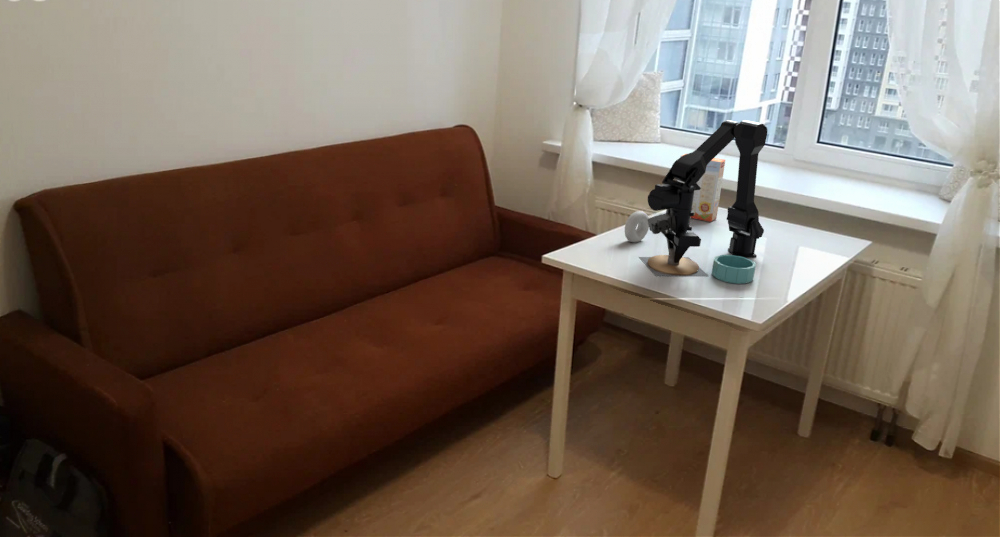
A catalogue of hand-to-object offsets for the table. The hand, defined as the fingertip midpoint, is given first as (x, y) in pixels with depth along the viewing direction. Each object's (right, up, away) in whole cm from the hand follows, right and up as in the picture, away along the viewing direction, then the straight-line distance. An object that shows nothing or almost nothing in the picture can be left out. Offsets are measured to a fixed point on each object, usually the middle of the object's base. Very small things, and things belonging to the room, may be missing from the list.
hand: (673, 260), depth 211 cm
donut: (-7, +6, +21) cm, 22 cm away
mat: (0, -2, +1) cm, 2 cm away
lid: (0, -2, +1) cm, 2 cm away
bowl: (+15, -5, -5) cm, 16 cm away
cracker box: (+19, +15, +51) cm, 56 cm away
